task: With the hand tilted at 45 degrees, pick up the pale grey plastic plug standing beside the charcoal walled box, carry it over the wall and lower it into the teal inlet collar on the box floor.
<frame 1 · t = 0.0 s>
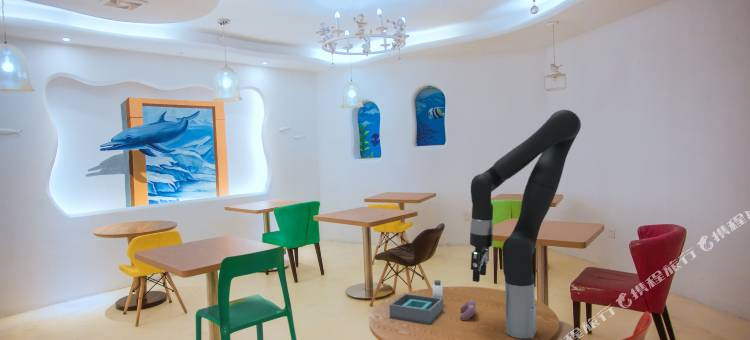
hand: (479, 278, 153), 17 cm above the table, tool pointing down, fingers open, 8 cm apart
walled box: (417, 314, 167), on the table
video game controller: (468, 317, 164), on the table
plug: (438, 305, 176), on the table
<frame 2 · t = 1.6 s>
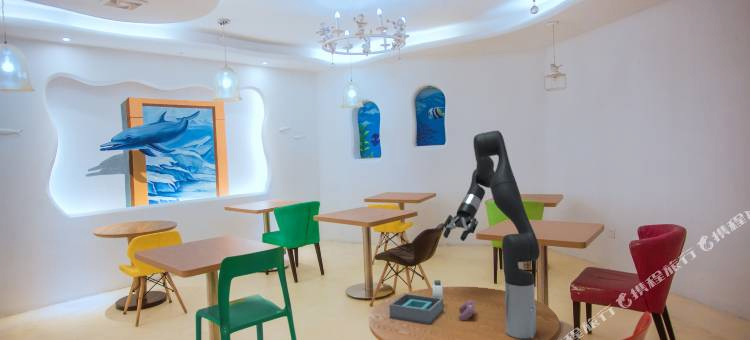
hand: (453, 238, 182), 25 cm above the table, tool tilted 45°, fingers open, 8 cm apart
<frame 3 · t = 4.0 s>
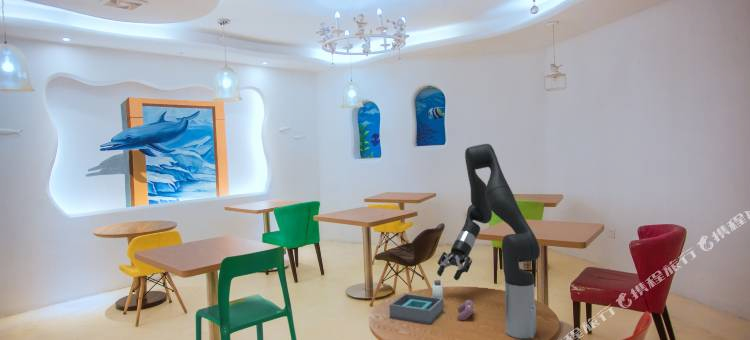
hand: (447, 277, 179), 10 cm above the table, tool tilted 45°, fingers open, 8 cm apart
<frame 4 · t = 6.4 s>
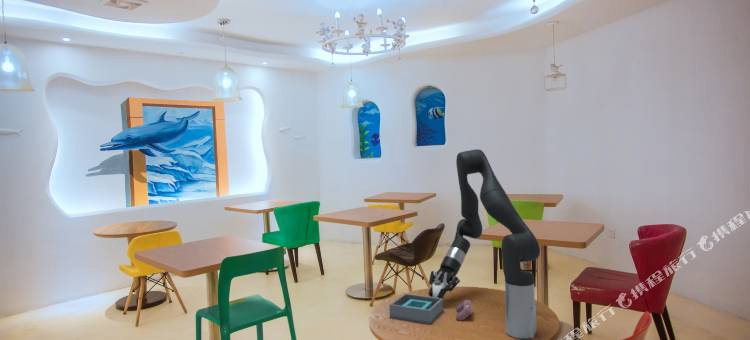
hand: (434, 296, 174), 4 cm above the table, tool tilted 45°, fingers closed on plug, 4 cm apart
plug: (438, 305, 176), on the table, touching gripper
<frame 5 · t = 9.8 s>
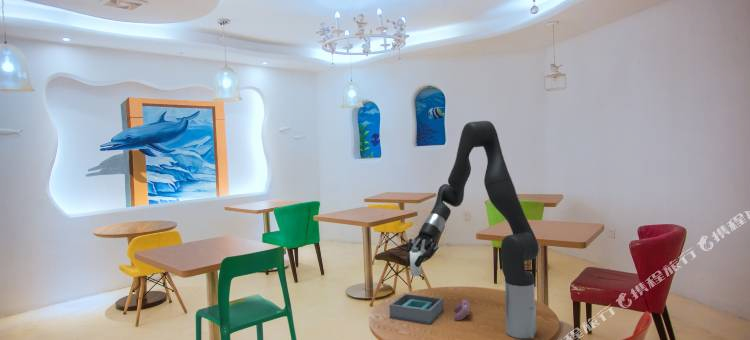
hand: (411, 264, 165), 19 cm above the table, tool tilted 45°, fingers closed on plug, 4 cm apart
plug: (415, 274, 166), point 15 cm above the table, touching gripper
when the fingers open (6 cm above the table, at t = 13.0 s): plug drops 1 cm, resting on walled box.
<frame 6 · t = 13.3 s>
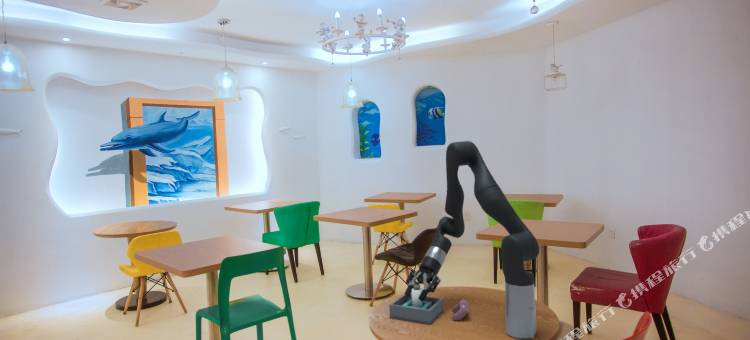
hand: (413, 297, 166), 7 cm above the table, tool tilted 45°, fingers open, 6 cm apart
plug: (417, 311, 167), point 1 cm above the table, touching walled box
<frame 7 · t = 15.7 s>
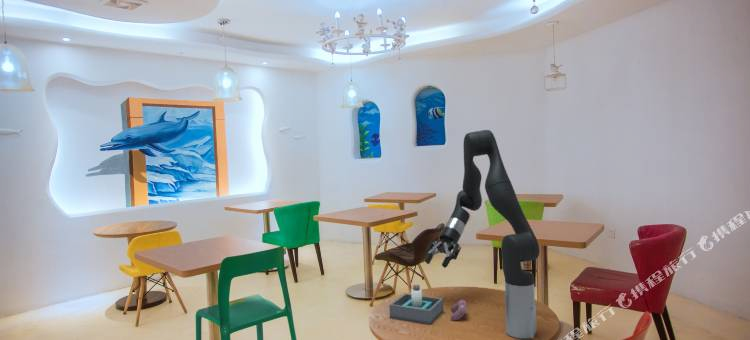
hand: (435, 264, 174), 17 cm above the table, tool tilted 45°, fingers open, 8 cm apart
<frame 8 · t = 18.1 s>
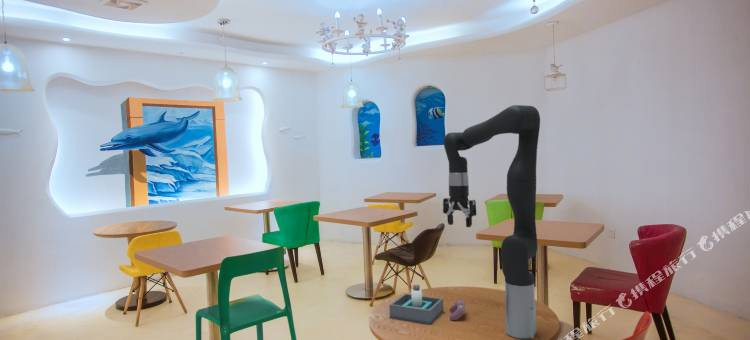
hand: (459, 225, 172), 32 cm above the table, tool pointing down, fingers open, 8 cm apart
at the end: plug 0.1 cm off-centre on the walled box, point 1.0 cm above the walled box's base; plug tilted 0°; the gripper is holding nothing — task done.
